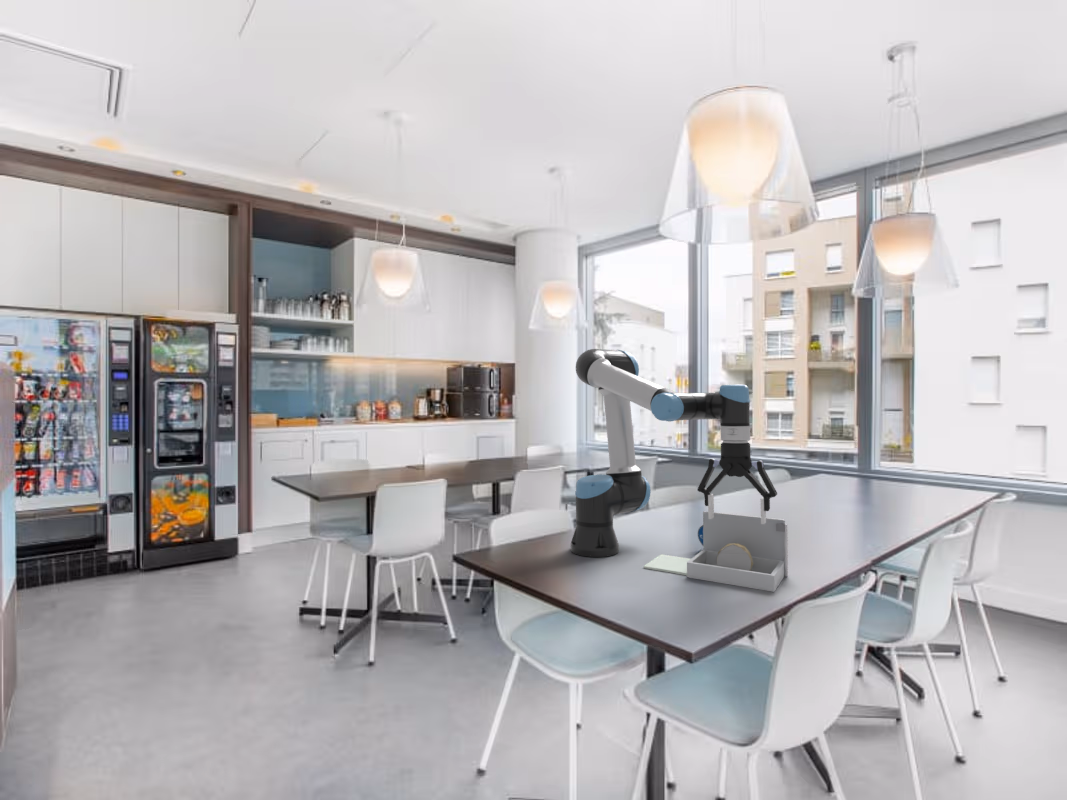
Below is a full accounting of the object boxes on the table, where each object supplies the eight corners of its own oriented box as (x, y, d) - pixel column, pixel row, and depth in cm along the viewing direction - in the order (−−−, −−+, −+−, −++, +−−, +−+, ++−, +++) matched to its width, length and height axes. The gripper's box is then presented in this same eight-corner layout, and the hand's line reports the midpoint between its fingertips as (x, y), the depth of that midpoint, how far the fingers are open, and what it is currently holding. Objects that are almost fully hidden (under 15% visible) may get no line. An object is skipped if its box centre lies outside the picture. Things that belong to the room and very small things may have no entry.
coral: (709, 554, 150) (717, 532, 158) (716, 585, 153) (724, 562, 161) (747, 557, 145) (753, 533, 153) (753, 589, 148) (759, 564, 156)
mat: (643, 568, 161) (643, 566, 161) (661, 556, 173) (661, 554, 173) (692, 576, 154) (692, 574, 154) (707, 563, 166) (707, 561, 166)
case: (686, 577, 153) (686, 521, 153) (704, 562, 166) (703, 511, 166) (777, 592, 141) (777, 532, 141) (788, 575, 154) (788, 519, 154)
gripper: (685, 441, 157) (686, 518, 157) (782, 443, 143) (784, 528, 143) (693, 439, 163) (694, 513, 163) (787, 441, 150) (789, 522, 149)
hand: (736, 520), depth 153 cm, fingers open, 13 cm apart
